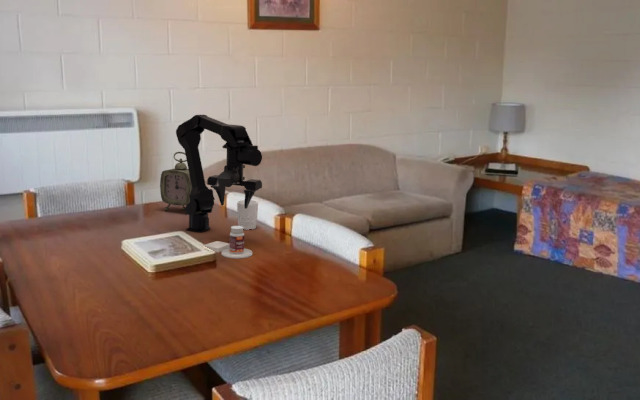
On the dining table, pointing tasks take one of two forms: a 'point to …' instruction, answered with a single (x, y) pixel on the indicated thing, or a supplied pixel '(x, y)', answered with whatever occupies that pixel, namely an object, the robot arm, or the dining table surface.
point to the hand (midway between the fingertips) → (234, 206)
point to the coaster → (230, 255)
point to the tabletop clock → (176, 185)
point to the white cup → (247, 214)
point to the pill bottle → (236, 240)
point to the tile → (217, 246)
